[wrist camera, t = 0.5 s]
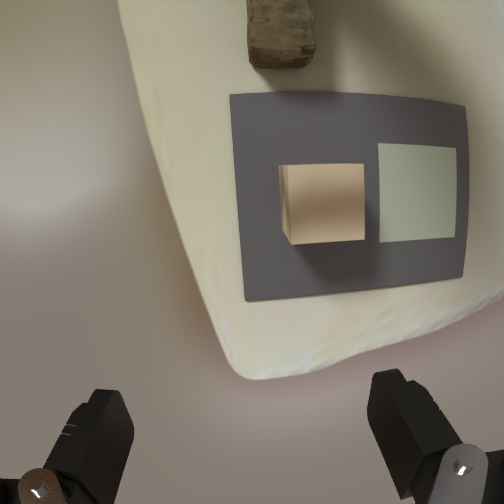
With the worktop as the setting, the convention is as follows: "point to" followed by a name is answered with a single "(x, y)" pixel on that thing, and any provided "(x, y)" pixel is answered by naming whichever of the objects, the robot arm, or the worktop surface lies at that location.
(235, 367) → the worktop surface
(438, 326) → the worktop surface
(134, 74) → the worktop surface
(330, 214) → the maple cube
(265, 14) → the stone block
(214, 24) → the worktop surface
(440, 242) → the rubber mat
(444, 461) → the robot arm
